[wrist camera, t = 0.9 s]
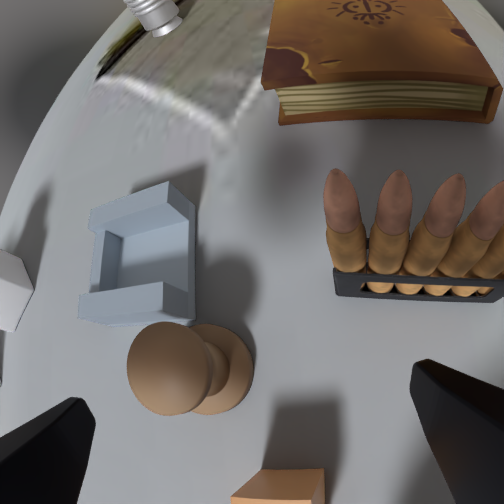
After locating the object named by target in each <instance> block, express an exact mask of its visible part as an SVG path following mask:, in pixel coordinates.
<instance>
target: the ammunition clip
mask: <svg viewBox="0 0 504 504" xmlns="http://www.w3.org/2000/svg"><path fill="white" fill-rule="evenodd" d="M323 198H324V210H325V215H326V223H327V230H326V239H327V244H328V247H329V251H330V254H331V258H332V261H333V265H334V268H333V277H334V284H335V291H336V294H337V295H338V296H345V297H361V298H377V299H396V300H417V301H442V302H478V303H494V302H495V301H497V300H499V299H500V298H502V297H504V181H502V182H500V183H498V184H497V185H496V186H494V187H493V188H492V189H491V190H490V191H489V192H488V193H487V194H486V195H485V196H484V197H483V198H482V199H481V200H480V201H479V203H478V204H477V205H476V207H475V209H474V210H473V211H472V212H471V213H470V215H469V216H468V217H467V219H466V220H465V221H464V222H462V223H461V224H460V225H459V226H458V227H457V228H456V226H457V224H458V222H459V220H460V218H461V215H462V212H463V209H464V205H465V198H466V185H465V180H464V177H463V176H462V175H461V174H459V173H458V174H455V175H453V176H451V177H449V178H448V179H447V180H446V181H445V182H444V183H443V184H442V185H441V186H440V187H439V189H438V190H437V191H436V193H435V195H434V197H433V198H432V200H431V202H430V204H429V206H428V209H427V211H426V213H425V214H424V217H423V219H422V220H421V221H420V222H419V223H418V225H417V226H416V228H415V230H414V232H413V234H412V237H411V240H409V238H410V235H409V225H410V218H411V212H412V192H411V188H410V184H409V180H408V178H407V176H406V175H405V173H404V172H403V171H402V170H396V171H395V172H393V173H392V174H391V175H390V176H389V177H388V179H387V181H386V183H385V184H384V186H383V188H382V190H381V193H380V197H379V200H378V205H377V213H376V217H375V223H374V224H373V226H372V228H371V232H370V237H369V238H367V237H366V230H365V227H364V225H363V223H362V219H361V213H360V207H359V202H358V198H357V195H356V192H355V189H354V187H353V185H352V184H351V182H350V180H349V179H348V177H347V176H346V175H345V174H344V173H343V172H342V171H340V170H339V169H333V170H331V172H330V173H329V175H328V177H327V179H326V183H325V188H324V196H323ZM367 249H369V255H368V262H366V255H367Z"/></svg>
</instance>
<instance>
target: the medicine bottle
mask: <svg viewBox="0 0 504 504" xmlns="http://www.w3.org/2000/svg"><path fill="white" fill-rule="evenodd" d="M33 292H34V288H33V286H32V284H31V281H30V279H29V276H28V274H27V272H26V269H25V267H24V264H23V261H22V259H21V258H19V257H16V256H14V255H12V254H10V253H8V252H5V251H3V250H1V249H0V329H1V330H5V331H9V332H14V331H15V329H16V327H17V325H18V322H19V320H20V318H21V316H22V314H23V312H24V310H25V308H26V305H27V303H28V301H29V299H30V297H31V295H32V293H33Z"/></svg>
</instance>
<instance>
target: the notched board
mask: <svg viewBox="0 0 504 504" xmlns="http://www.w3.org/2000/svg"><path fill="white" fill-rule="evenodd" d="M195 207H196V206H195V205H194V204H192V203H191V202H190V201H189V200H188V199H187V198H186V197H185V196H184V195H183V194H182V193H181V192H180V191H179V190H178V189H177V188H176V187H175V186H174V185H172V184H171V183H170V182H169V181H167V182H164V183H161V184H158V185H155V186H153V187H150V188H147V189H144V190H141V191H138V192H136V193H133V194H130V195H127V196H125V197H122V198H119V199H117V200H114V201H111V202H109V203H106V204H104V205H101V206H99V207H96V208H94V209H91V212H90V217H89V223H88V229H89V230H91V231H93V232H95V233H96V234H95V241H94V249H93V257H92V265H91V275H90V285H89V294H82V295H79V304H78V318H80V319H84V320H88V321H91V322H95V323H100V324H104V325H108V326H112V327H117V326H132V325H146V324H153V323H156V322H162V321H167V322H181V321H191V320H196V314H195Z"/></svg>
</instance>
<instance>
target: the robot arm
mask: <svg viewBox="0 0 504 504" xmlns="http://www.w3.org/2000/svg"><path fill="white" fill-rule="evenodd" d="M410 394H411V397H412V400H413V402H414V405H415V408H416V411H417V413H418V416H419V419H420V422H421V425H422V428H423V431H424V433H425V436H426V439H427V441H428V443H429V445H430V447H431V450H432V452H433V454H434V456H435V458H436V460H437V462H438V464H439V466H440V469H441V471H442V473H443V475H444V477H445V480H446V482H447V484H448V486H449V489H450V491H451V493H452V495H453V498H454V500H455V502H456V504H504V389H501V388H499V387H496V386H494V385H491V384H489V383H486V382H484V381H481V380H479V379H476V378H474V377H471V376H469V375H467V374H464V373H462V372H459V371H457V370H454V369H452V368H450V367H447V366H445V365H442V364H440V363H438V362H435V361H433V360H430V359H424V360H421V361H418V362H416V363H414V365H413V368H412V375H411V381H410ZM95 426H96V422H95V418H94V416H93V414H92V413H91V411H90V409H89V407H88V406H87V404H86V402H85V400H83V399H82V398H78V397H70V398H68V399H66V400H64V401H63V402H61V403H59V404H58V405H56V406H54V407H53V408H51V409H49V410H48V411H46V412H44V413H42V414H41V415H39V416H37V417H36V418H34V419H32V420H30V421H29V422H27V423H25V424H23V425H22V426H20V427H18V428H16V429H15V430H13V431H11V432H9V433H8V434H6V435H4V436H2V437H0V504H77V501H78V497H79V494H80V490H81V487H82V483H83V480H84V476H85V473H86V469H87V465H88V461H89V455H90V450H91V445H92V440H93V436H94V431H95Z"/></svg>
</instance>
